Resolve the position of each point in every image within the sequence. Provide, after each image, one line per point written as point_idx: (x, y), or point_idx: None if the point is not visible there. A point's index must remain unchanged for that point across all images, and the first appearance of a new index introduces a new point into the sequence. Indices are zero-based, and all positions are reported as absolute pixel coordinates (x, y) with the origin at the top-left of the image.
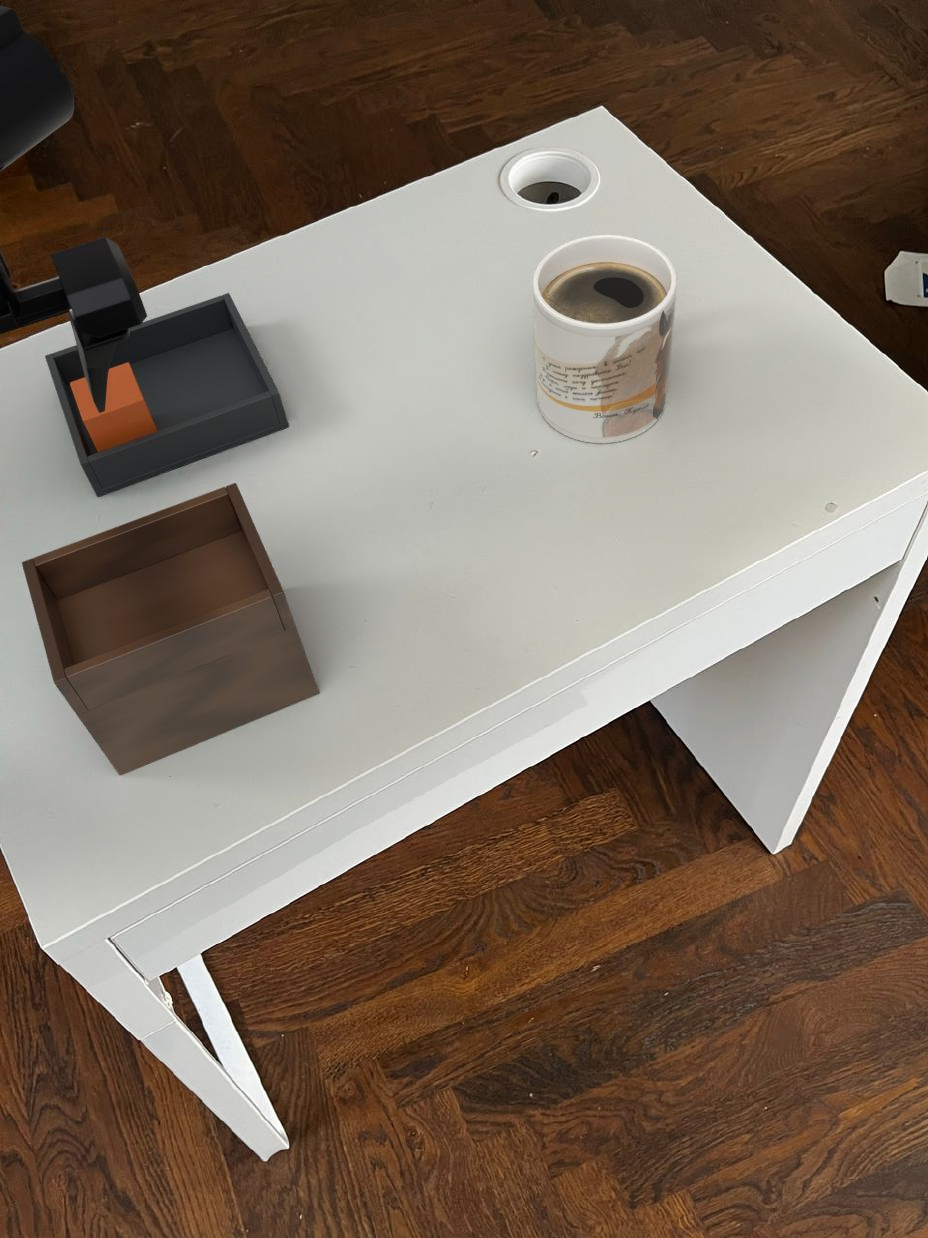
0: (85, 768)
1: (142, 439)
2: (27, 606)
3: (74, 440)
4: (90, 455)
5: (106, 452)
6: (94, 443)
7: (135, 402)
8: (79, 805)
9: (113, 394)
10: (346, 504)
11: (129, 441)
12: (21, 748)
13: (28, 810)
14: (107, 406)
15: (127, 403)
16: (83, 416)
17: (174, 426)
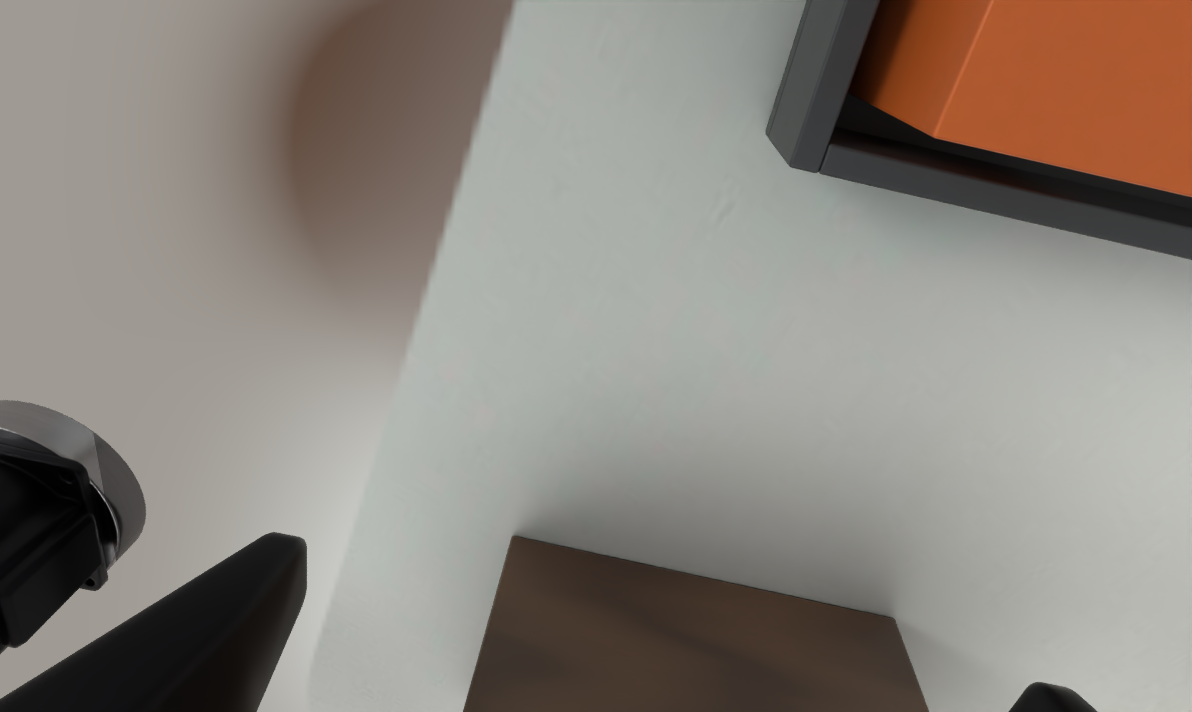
0: (437, 670)
1: (1028, 209)
2: (452, 345)
3: (845, 20)
4: (841, 151)
5: (893, 175)
6: (890, 114)
7: (1175, 192)
8: (409, 703)
9: (1159, 62)
10: (1181, 557)
11: (989, 185)
12: (352, 593)
13: (338, 671)
14: (1075, 125)
15: (1148, 173)
16: (954, 109)
17: (1155, 231)
